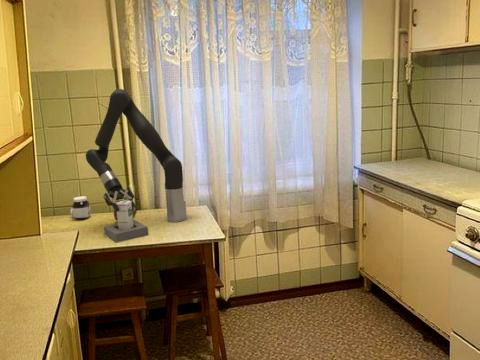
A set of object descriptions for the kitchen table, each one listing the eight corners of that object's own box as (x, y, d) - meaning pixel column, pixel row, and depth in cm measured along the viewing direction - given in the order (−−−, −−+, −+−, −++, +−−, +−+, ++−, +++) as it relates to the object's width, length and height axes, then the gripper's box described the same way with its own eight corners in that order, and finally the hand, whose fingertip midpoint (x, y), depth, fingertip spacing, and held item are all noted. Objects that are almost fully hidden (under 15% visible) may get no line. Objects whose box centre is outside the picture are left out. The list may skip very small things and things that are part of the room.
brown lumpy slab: (117, 223, 263) (116, 208, 261) (113, 222, 264) (111, 207, 263) (137, 216, 275) (136, 201, 273) (133, 215, 277) (132, 200, 275)
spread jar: (85, 221, 270) (82, 200, 268) (65, 221, 272) (62, 200, 270) (94, 214, 282) (92, 194, 279) (75, 214, 284) (73, 194, 281)
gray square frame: (135, 227, 255) (134, 219, 254) (148, 234, 242) (147, 226, 241) (104, 234, 246) (103, 226, 245) (116, 242, 233) (115, 234, 232)
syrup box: (129, 232, 241) (127, 203, 238) (118, 232, 242) (115, 203, 239) (134, 228, 246) (131, 200, 243) (123, 228, 247) (120, 200, 244)
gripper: (99, 180, 239) (115, 207, 233) (125, 175, 249) (141, 201, 243) (95, 189, 244) (110, 216, 238) (121, 184, 253) (136, 209, 248)
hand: (125, 208), depth 241 cm, fingers closed on syrup box, 8 cm apart
